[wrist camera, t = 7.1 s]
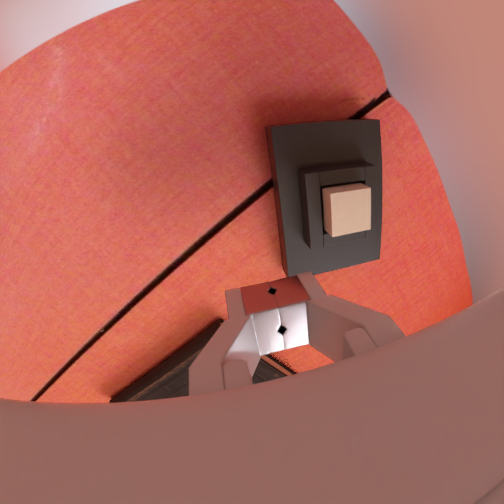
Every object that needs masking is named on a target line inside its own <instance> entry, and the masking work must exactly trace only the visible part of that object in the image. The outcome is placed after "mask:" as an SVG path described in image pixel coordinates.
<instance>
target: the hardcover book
mask: <svg viewBox="0 0 504 504" xmlns="http://www.w3.org/2000/svg"><path fill="white" fill-rule="evenodd" d="M223 322H224V320H218V321H217V322H216V323H215V324H213V325H212V326H211V327H209V328H208V329H207V330H205V331H204V332H203V333H201V334H200V335H199V336H198V337H196V338H195V339H194V340H192V341H191V342H190V343H188V344H187V345H186V346H184V347H183V348H182V349H180V350H179V351H178V352H176V353H175V354H174V355H172V356H171V357H169V358H168V359H167V360H165V361H164V362H163V363H161V364H160V365H159V366H157V367H156V368H154V369H153V370H152V371H150V372H149V373H148V374H146V375H145V376H143V377H142V378H141V379H139V380H138V381H137V382H135V383H134V384H132V385H131V386H130V387H128V388H127V389H125V390H124V391H122V392H121V393H120V394H118V395H117V396H115V397H114V398H113V399H111V400H110V402H109V403H119V402H135V401H147V400H158V399H167V398H176V397H184V396H189V367H190V365H191V364H192V363H193V362H194V360H195V359H196V358H197V356H198V355H199V354H200V352H201V351H202V350H203V348H204V347H205V346H206V344H207V343H208V342H209V340H210V339H211V338H212V336H213V335H214V334H215V332H216V331H217V330H218V329H219V327H220V326H221V325H222V323H223ZM260 357H261V358H260V360H259V362H258V365H257V367H256V369H255V372H254V374H253V376H252V381H253V384H257V383H262V382H266V381H270V380H274V379H278V378H282V377H286V376H290V375H294V374H296V373H295V372H293V371H292V370H290V369H289V368H287V367H286V366H285V365H283V364H282V363H280V362H279V361H277V360H276V359H275V358H273V357H272V356H270V355H269V354H267V355H263V356H260Z"/></svg>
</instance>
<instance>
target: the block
mask: <svg viewBox="0 0 504 504" xmlns="http://www.w3.org/2000/svg"><path fill="white" fill-rule="evenodd" d="M265 131H266V138H267V145H268V152H269V159H270V167H271V174H272V182H273V189H274V197H275V205H276V213H277V221H278V230H279V238H280V247H281V256H282V265H283V270H284V272H285V274H286V276H287V277H290V276H294V275H297V274H301V273H304V272H308V271H310V272H312V274H313V275H316V274H320V273H324V272H328V271H333V270H337V269H341V268H345V267H349V266H353V265H357V264H361V263H365V262H369V261H373V260H377V259H380V246H381V227H382V154H381V135H380V121H379V120H375V119H346V120H327V121H313V122H302V123H291V124H282V125H274V126H266V127H265ZM355 183H362V184H364V185H366V186H368V187H370V188H371V229H370V230H365V231H360V232H355V233H350V234H346V235H341V236H336V237H332V236H331V235H330V234H329V233H328V232H327V231H326V230H324V215H323V198H322V188H327V187H333V186H340V185H347V184H355Z"/></svg>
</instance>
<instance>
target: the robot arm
mask: <svg viewBox="0 0 504 504" xmlns="http://www.w3.org/2000/svg"><path fill="white" fill-rule="evenodd" d="M240 290H241V291H240ZM241 294H242V295H241ZM225 297H226V304H227V311H228V318H229V320H225V321H224V322H223V323H222V325H221V326H220V327H219V329H218V330H217V331H216V332H215V334H214V335H213V336H212V338H211V339H210V340H209V342H208V343H207V344H206V346H205V347H204V348H203V350H202V351H201V352H200V354H199V355H198V356H197V358H196V359H195V360H194V362H193V363H192V364H191V365H190V367H189V396H184V397H176V398H167V399H158V400H147V401H135V402H119V403H47V402H32V401H20V400H11V399H3V398H0V504H504V287H503V288H501V289H499V290H498V291H496V292H494V293H493V294H491V295H489V296H487V297H486V298H484V299H482V300H480V301H478V302H477V303H475V304H473V305H471V306H469V307H467V308H465V309H464V310H462V311H460V312H458V313H456V314H454V315H452V316H450V317H448V318H446V319H444V320H442V321H440V322H437V323H435V324H433V325H431V326H429V327H427V328H424V329H422V330H420V331H418V332H415V333H413V334H411V335H408V336H405V335H404V333H403V332H402V331H401V330H400V328H399V327H398V326H397V325H396V323H395V322H394V321H393V320H392V319H391V317H390V316H388V315H385V314H382V313H380V312H377V311H374V310H371V309H369V308H366V307H363V306H360V305H358V304H355V303H352V302H350V301H347V300H344V299H341V298H339V297H336V296H333V295H328V296H327V295H326V293H325V292H324V290H323V289H322V287H321V286H320V284H319V283H318V281H317V280H316V278H315V277H314V275H313V274H312V272H310V271H308V272H304V273H301V274H297V275H294V276H290V277H286V278H283V279H279V280H275V281H271V282H264V283H260V284H255V285H250V286H245V287H240V288H235V289H231V290H226V291H225ZM243 303H244V304H243ZM306 344H309V345H311V346H312V347H314V348H315V349H317V350H318V351H320V352H321V353H323V354H324V355H326V356H327V357H329V358H330V359H332V360H333V361H335V363H332V364H329V365H325V366H322V367H319V368H315V369H312V370H308V371H305V372H301V373H298V374H294V375H290V376H286V377H282V378H278V379H274V380H270V381H266V382H262V383H257V384H253V381H252V376H253V374H254V372H255V369H256V367H257V365H258V362H259V360H260V358H261V357H260V356H263V355H267V354H270V353H274V352H278V351H281V350H285V349H290V348H294V347H298V346H302V345H306Z"/></svg>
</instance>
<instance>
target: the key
mask: <svg viewBox="0 0 504 504" xmlns="http://www.w3.org/2000/svg"><path fill="white" fill-rule="evenodd" d="M322 198H323V215H324V230H326V231H327V232H328V233H329V234H330V235H331V236H332V237H336V236H341V235H346V234H350V233H355V232H360V231H365V230H370V229H371V188H370V187H368V186H366V185H364V184H362V183H355V184H347V185H340V186H333V187H327V188H322Z"/></svg>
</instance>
